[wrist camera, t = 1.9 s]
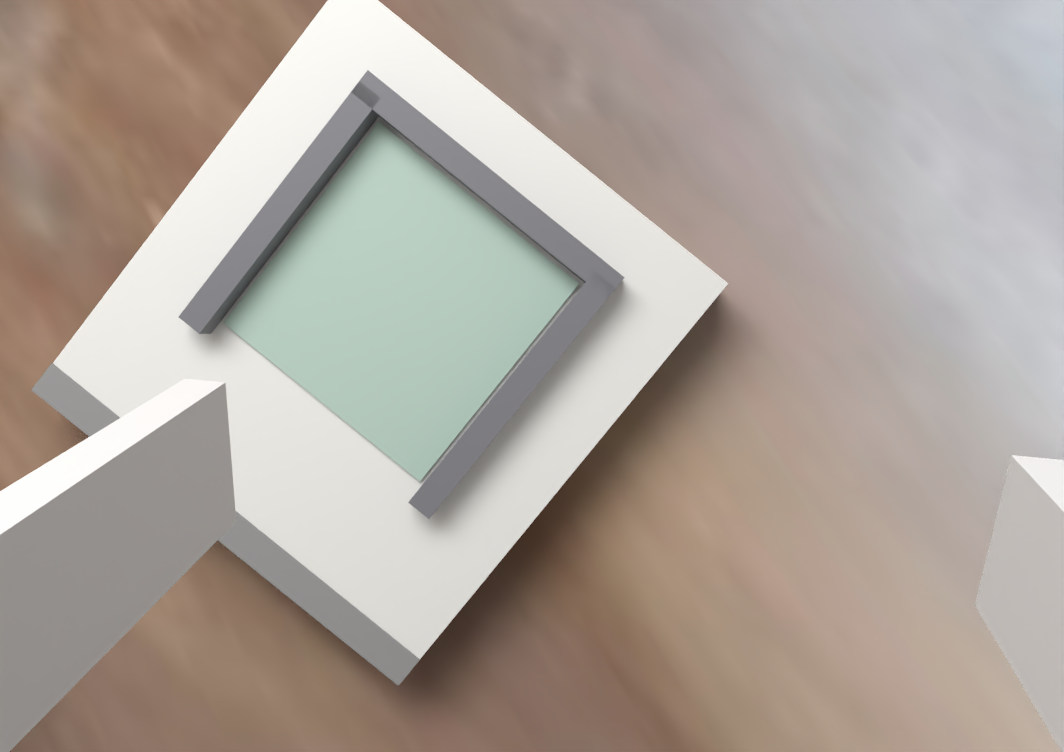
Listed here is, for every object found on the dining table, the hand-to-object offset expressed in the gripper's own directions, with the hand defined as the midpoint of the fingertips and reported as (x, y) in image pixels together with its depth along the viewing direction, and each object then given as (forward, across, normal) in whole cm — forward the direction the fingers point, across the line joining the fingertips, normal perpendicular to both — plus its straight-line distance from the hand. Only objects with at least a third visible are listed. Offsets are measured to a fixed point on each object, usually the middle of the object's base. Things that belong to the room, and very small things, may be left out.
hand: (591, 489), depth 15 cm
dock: (+26, +12, +6) cm, 29 cm away
